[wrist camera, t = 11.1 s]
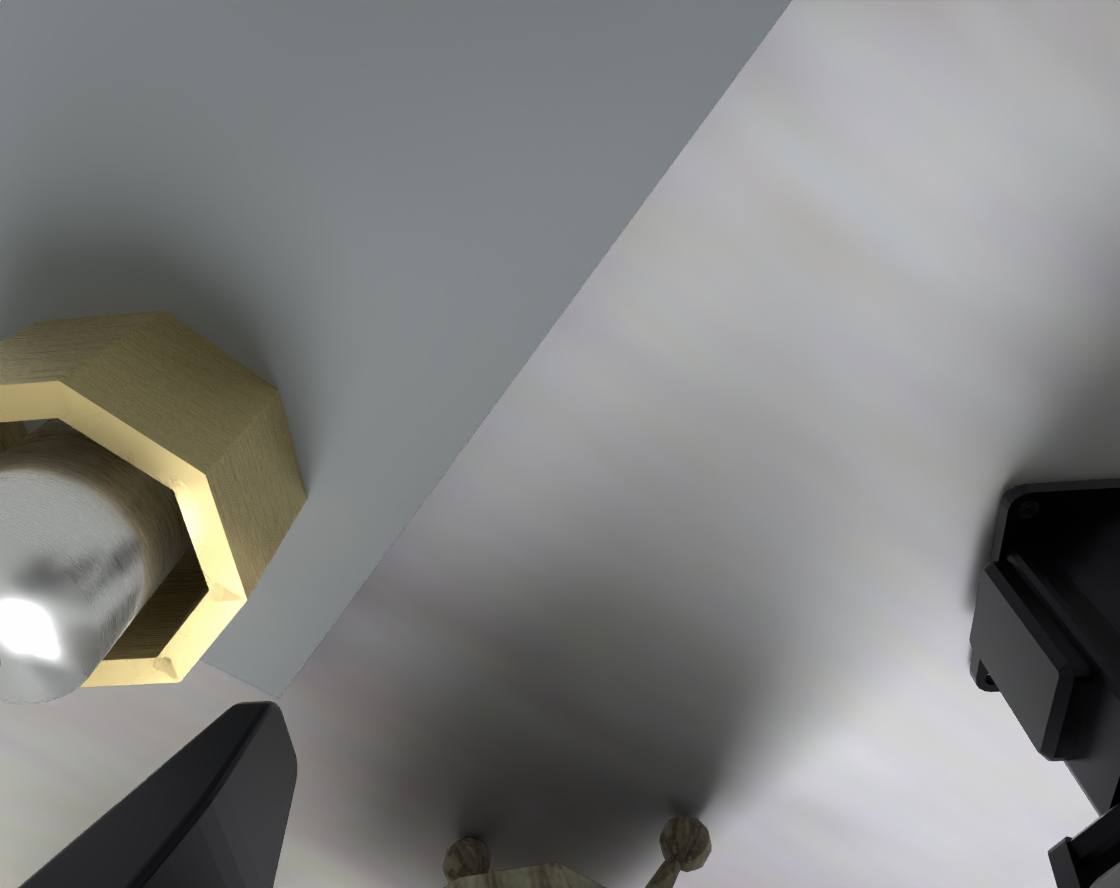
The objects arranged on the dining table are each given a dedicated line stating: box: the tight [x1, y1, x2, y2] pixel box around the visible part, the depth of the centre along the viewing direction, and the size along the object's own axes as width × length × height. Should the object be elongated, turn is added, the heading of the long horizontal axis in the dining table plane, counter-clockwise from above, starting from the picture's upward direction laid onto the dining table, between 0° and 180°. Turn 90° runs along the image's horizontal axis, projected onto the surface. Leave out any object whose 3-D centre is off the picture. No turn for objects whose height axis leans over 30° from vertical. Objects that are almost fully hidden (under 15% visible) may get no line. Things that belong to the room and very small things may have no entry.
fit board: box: [0, 0, 792, 704], centre depth 14 cm, size 26×12×7 cm, turn 145°
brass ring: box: [0, 310, 308, 687], centre depth 18 cm, size 7×7×4 cm
